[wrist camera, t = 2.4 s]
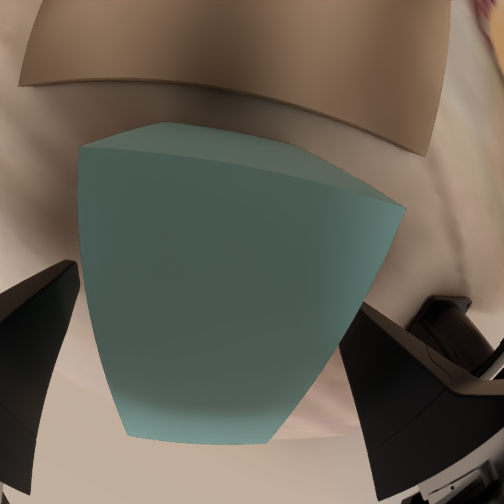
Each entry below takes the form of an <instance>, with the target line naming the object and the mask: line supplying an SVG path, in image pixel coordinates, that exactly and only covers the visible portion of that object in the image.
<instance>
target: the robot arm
mask: <svg viewBox="0 0 504 504" xmlns="http://www.w3.org/2000/svg"><path fill="white" fill-rule="evenodd" d="M79 289H80V279H79V272H78V265H77V263H76V262H75V261H72V260H63V261H61V262H59V263H57V264H55V265H53V266H51V267H49V268H47V269H45V270H43V271H41V272H39V273H37V274H35V275H33V276H32V277H30V278H28V279H26V280H24V281H22V282H20V283H19V284H17V285H15V286H13V287H11V288H9V289H8V290H6V291H4V292H2V293H1V294H0V504H9V502H8V500H7V498H6V496H5V495H4V493H3V491H2V490H3V483H4V484H6V485H8V486H10V487H12V488H14V489H16V490H18V491H20V492H23V493H25V494H27V495H30V492H31V478H32V468H33V459H34V453H35V446H36V438H37V433H38V428H39V423H40V418H41V414H42V409H43V405H44V401H45V397H46V393H47V390H48V386H49V383H50V379H51V376H52V372H53V369H54V366H55V363H56V360H57V357H58V354H59V351H60V348H61V346H62V343H63V340H64V337H65V335H66V332H67V329H68V326H69V323H70V319H71V316H72V312H73V309H74V305H75V302H76V299H77V296H78V293H79ZM471 304H472V301H471V300H470V299H469V298H461V297H439V296H433V297H431V298H430V299H428V301H427V302H426V304H425V305H424V307H423V309H422V310H421V312H420V313H419V315H418V317H417V318H416V320H415V321H414V323H413V324H412V326H411V327H410V329H409V330H408V332H407V331H406V330H404V329H403V328H401V327H400V326H399V325H397V324H396V323H394V322H393V321H391V320H390V319H388V318H387V317H386V316H384V315H383V314H381V313H380V312H378V311H377V310H375V309H374V308H372V307H371V306H370V305H368V304H367V303H365V302H364V301H363V303H362V305H361V306H360V308H359V310H358V312H357V314H356V315H355V317H354V319H353V321H352V322H351V324H350V326H349V328H348V329H347V331H346V333H345V334H344V336H343V338H342V339H341V341H340V343H339V349H340V353H341V357H342V360H343V364H344V367H345V370H346V374H347V377H348V381H349V384H350V388H351V391H352V395H353V398H354V402H355V406H356V409H357V413H358V417H359V421H360V425H361V428H362V432H363V436H364V440H365V445H366V449H367V452H368V458H369V462H370V467H371V471H372V476H373V481H374V486H375V491H376V496H377V499H378V501H381V500H384V499H386V498H389V497H391V496H394V495H396V494H398V493H401V492H403V491H405V490H407V489H409V488H411V487H414V486H416V485H418V487H419V490H420V491H418V492H416V493H414V494H413V495H411V496H409V497H407V498H405V499H403V500H402V502H401V504H504V368H503V369H502V370H501V371H500V372H499V373H498V374H497V375H496V377H494V379H493V380H489V379H490V378H491V377H492V376H493V375H494V374H495V373H496V372H497V371H498V370H499V369H500V368H501V366H502V365H503V364H504V338H503V340H502V341H501V342H500V345H499V346H498V347H497V349H496V350H494V349H493V348H492V346H491V345H490V344H489V342H488V341H487V340H486V339H485V337H484V336H483V335H482V334H481V332H480V331H479V330H478V329H477V328H476V326H475V325H474V324H473V323H472V322H471V320H470V319H469V318H468V317H467V316H466V315H465V314H466V312H467V310H468V309H469V307H470V306H471Z"/></svg>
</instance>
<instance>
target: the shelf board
mask: <svg viewBox="0 0 504 504" xmlns="http://www.w3.org/2000/svg"><path fill="white" fill-rule="evenodd" d="M450 7H451V0H43V1H42V4H41V6H40V9H39V12H38V14H37V17H36V20H35V23H34V25H33V28H32V32H31V35H30V38H29V41H28V45H27V49H26V52H25V56H24V60H23V65H22V69H21V74H20V79H19V85H18V87H25V86H40V85H47V84H56V83H66V82H80V81H107V80H120V81H148V82H163V83H174V84H183V85H191V86H199V87H206V88H212V89H218V90H224V91H229V92H235V93H240V94H245V95H249V96H254V97H258V98H262V99H267V100H271V101H275V102H278V103H282V104H286V105H289V106H293V107H296V108H300V109H303V110H306V111H310V112H313V113H316V114H319V115H322V116H325V117H328V118H331V119H333V120H336V121H339V122H342V123H344V124H347V125H350V126H352V127H355V128H357V129H360V130H362V131H365V132H367V133H370V134H372V135H374V136H377V137H379V138H381V139H383V140H386V141H388V142H390V143H392V144H394V145H396V146H399V147H401V148H403V149H405V150H407V151H409V152H412V153H414V154H417V155H420V156H423V157H425V156H426V152H427V149H428V145H429V142H430V138H431V134H432V131H433V127H434V123H435V119H436V114H437V110H438V106H439V101H440V96H441V91H442V85H443V80H444V74H445V67H446V60H447V52H448V42H449V30H450Z"/></svg>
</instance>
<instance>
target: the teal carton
mask: <svg viewBox="0 0 504 504" xmlns="http://www.w3.org/2000/svg"><path fill="white" fill-rule="evenodd" d="M405 210H406V208H404V207H403V206H401V205H400V204H398V203H397V202H395V201H394V200H392V199H391V198H389V197H388V196H386V195H384V194H383V193H381V192H379V191H378V190H376V189H375V188H373V187H371V186H370V185H368V184H366V183H365V182H363V181H361V180H359V179H358V178H356V177H354V176H352V175H351V174H349V173H347V172H345V171H344V170H342V169H340V168H338V167H336V166H334V165H332V164H331V163H329V162H327V161H325V160H323V159H321V158H319V157H317V156H315V155H313V154H311V153H309V152H307V151H305V150H303V149H301V148H299V147H297V146H295V145H291V144H287V143H283V142H279V141H275V140H271V139H267V138H262V137H258V136H253V135H248V134H243V133H238V132H233V131H228V130H222V129H216V128H210V127H204V126H197V125H190V124H183V123H175V122H166V121H165V122H161V123H156V124H152V125H148V126H144V127H140V128H137V129H133V130H129V131H126V132H122V133H119V134H116V135H113V136H109V137H106V138H103V139H100V140H97V141H94V142H91V143H88V144H86V145H83V146H80V147H79V158H78V227H79V241H80V253H81V262H82V270H83V278H84V285H85V291H86V297H87V303H88V308H89V313H90V318H91V323H92V327H93V332H94V336H95V340H96V344H97V348H98V352H99V355H100V359H101V363H102V366H103V369H104V373H105V376H106V379H107V382H108V385H109V388H110V391H111V394H112V397H113V400H114V402H115V405H116V408H117V410H118V413H119V416H120V418H121V420H122V423H123V425H124V428H125V430H126V432H127V435H128V436H133V437H138V438H145V439H152V440H159V441H167V442H168V441H169V442H177V443H190V444H212V445H244V444H265V443H267V442H268V441H269V440H270V439H271V438H272V436H273V435H274V434H275V433H276V432H277V430H278V429H279V428H280V427H281V425H282V424H283V423H284V422H285V420H286V419H287V418H288V417H289V415H290V414H291V413H292V411H293V410H294V409H295V407H296V406H297V405H298V403H299V402H300V401H301V399H302V398H303V397H304V395H305V394H306V392H307V391H308V390H309V388H310V387H311V385H312V384H313V383H314V381H315V380H316V378H317V377H318V375H319V374H320V372H321V371H322V369H323V368H324V366H325V365H326V363H327V362H328V360H329V359H330V357H331V355H332V354H333V352H334V351H335V349H336V348H337V346H338V344H339V343H340V341H341V339H342V338H343V336H344V334H345V333H346V331H347V329H348V328H349V326H350V324H351V322H352V321H353V319H354V317H355V315H356V314H357V312H358V310H359V308H360V306H361V305H362V303H363V301H364V299H365V297H366V295H367V293H368V291H369V289H370V288H371V286H372V284H373V282H374V280H375V278H376V276H377V274H378V272H379V269H380V267H381V265H382V263H383V261H384V259H385V257H386V255H387V252H388V250H389V248H390V246H391V244H392V241H393V239H394V237H395V234H396V232H397V230H398V227H399V225H400V222H401V220H402V217H403V215H404V212H405Z"/></svg>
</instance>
